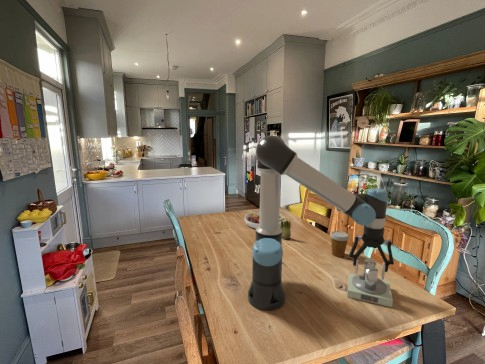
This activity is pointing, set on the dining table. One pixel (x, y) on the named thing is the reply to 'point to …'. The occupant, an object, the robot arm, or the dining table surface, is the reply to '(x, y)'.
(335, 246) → the disposable coffee cup
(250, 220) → the bowl
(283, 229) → the asparagus bundle
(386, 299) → the kitchen scale
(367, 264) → the spacer
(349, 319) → the dining table surface
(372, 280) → the cylinder
